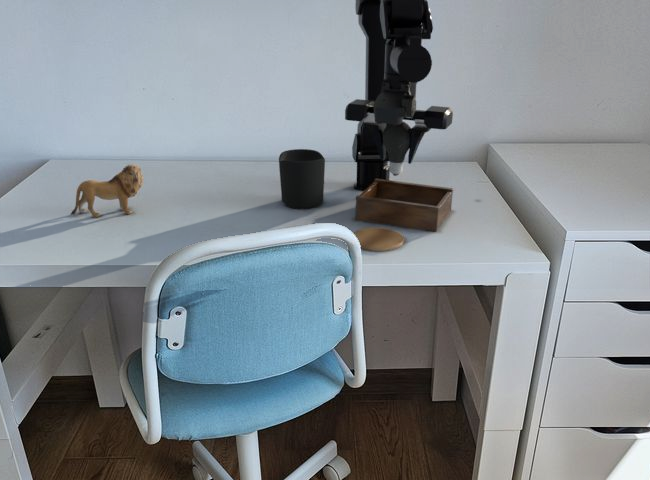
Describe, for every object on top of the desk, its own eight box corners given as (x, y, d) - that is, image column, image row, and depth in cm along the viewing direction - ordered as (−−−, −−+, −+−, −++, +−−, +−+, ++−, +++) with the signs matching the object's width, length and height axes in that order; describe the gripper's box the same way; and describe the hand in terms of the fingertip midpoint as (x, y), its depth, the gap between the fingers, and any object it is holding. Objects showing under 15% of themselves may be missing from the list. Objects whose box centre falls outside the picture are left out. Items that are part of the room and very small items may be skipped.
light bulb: (414, 173, 132) (418, 119, 127) (404, 181, 128) (407, 125, 123) (387, 169, 134) (390, 116, 129) (376, 177, 130) (378, 122, 125)
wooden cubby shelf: (354, 220, 139) (355, 196, 137) (375, 200, 149) (375, 178, 147) (436, 232, 134) (438, 208, 132) (451, 210, 145) (453, 188, 142)
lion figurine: (144, 203, 145) (138, 160, 140) (149, 212, 140) (143, 167, 136) (69, 213, 139) (60, 168, 134) (72, 222, 135) (63, 176, 130)
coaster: (342, 246, 127) (342, 243, 127) (360, 227, 135) (360, 224, 135) (394, 254, 125) (394, 251, 124) (409, 235, 133) (409, 232, 132)
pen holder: (333, 200, 149) (333, 153, 144) (310, 213, 142) (309, 164, 137) (295, 192, 153) (294, 146, 147) (271, 205, 145) (269, 157, 140)
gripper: (334, 75, 118) (334, 167, 126) (442, 84, 113) (435, 179, 121) (356, 66, 127) (354, 152, 135) (456, 73, 122) (449, 163, 130)
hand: (396, 161), depth 130 cm, fingers closed on light bulb, 5 cm apart
